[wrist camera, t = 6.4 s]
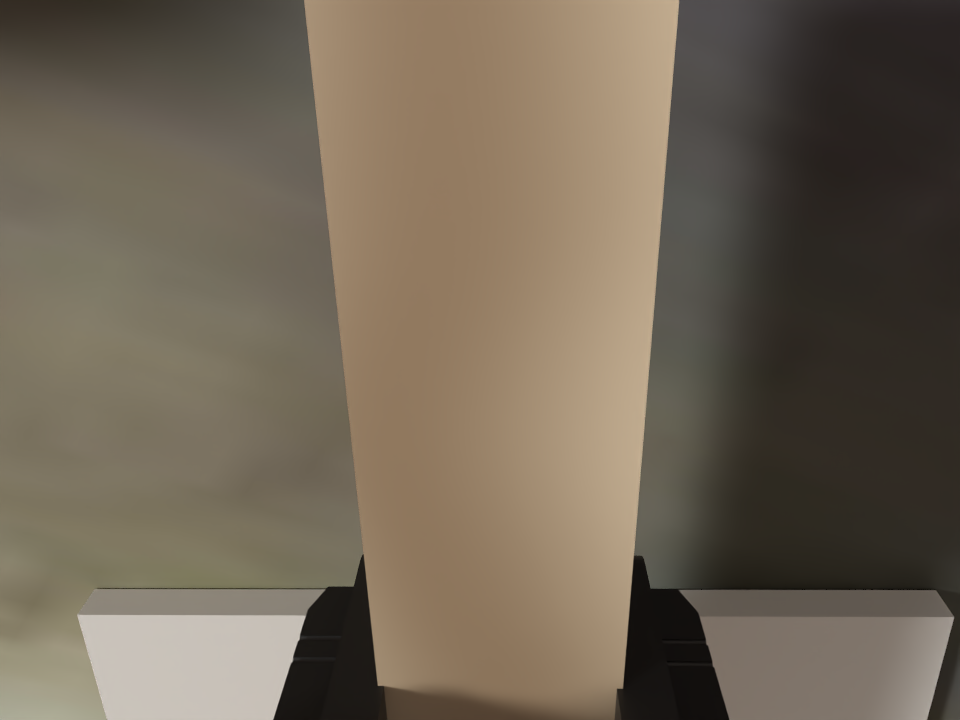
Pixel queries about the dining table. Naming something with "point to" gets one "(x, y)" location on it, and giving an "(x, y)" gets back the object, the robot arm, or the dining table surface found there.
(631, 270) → the oak stick
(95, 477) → the dining table surface
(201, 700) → the white panel
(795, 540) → the dining table surface
